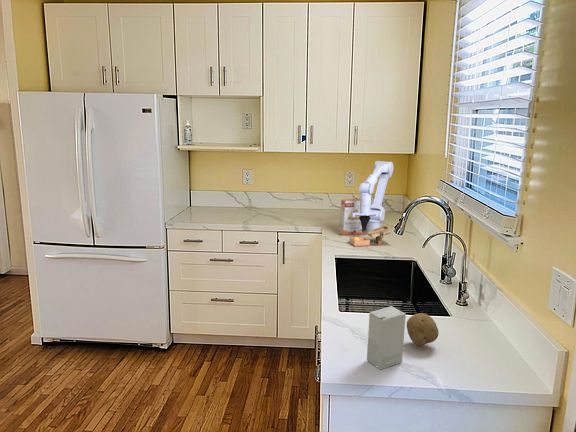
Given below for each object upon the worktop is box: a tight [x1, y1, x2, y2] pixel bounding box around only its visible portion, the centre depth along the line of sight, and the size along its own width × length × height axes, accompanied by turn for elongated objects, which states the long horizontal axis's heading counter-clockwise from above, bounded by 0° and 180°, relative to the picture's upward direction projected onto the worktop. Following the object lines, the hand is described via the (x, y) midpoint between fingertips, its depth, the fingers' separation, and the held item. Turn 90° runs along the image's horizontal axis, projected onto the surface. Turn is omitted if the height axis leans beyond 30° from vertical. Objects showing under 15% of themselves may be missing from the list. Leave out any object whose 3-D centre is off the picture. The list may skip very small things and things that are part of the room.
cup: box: [349, 236, 371, 247], centre depth 247 cm, size 7×8×3 cm
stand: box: [348, 232, 392, 248], centre depth 248 cm, size 9×21×8 cm, turn 103°
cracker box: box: [338, 198, 365, 236], centre depth 270 cm, size 14×6×21 cm, turn 109°
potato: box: [406, 312, 440, 348], centre depth 138 cm, size 9×9×10 cm
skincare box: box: [366, 305, 407, 370], centre depth 127 cm, size 8×6×15 cm
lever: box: [361, 224, 391, 239], centre depth 252 cm, size 13×11×4 cm
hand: (363, 229), depth 256 cm, fingers closed
